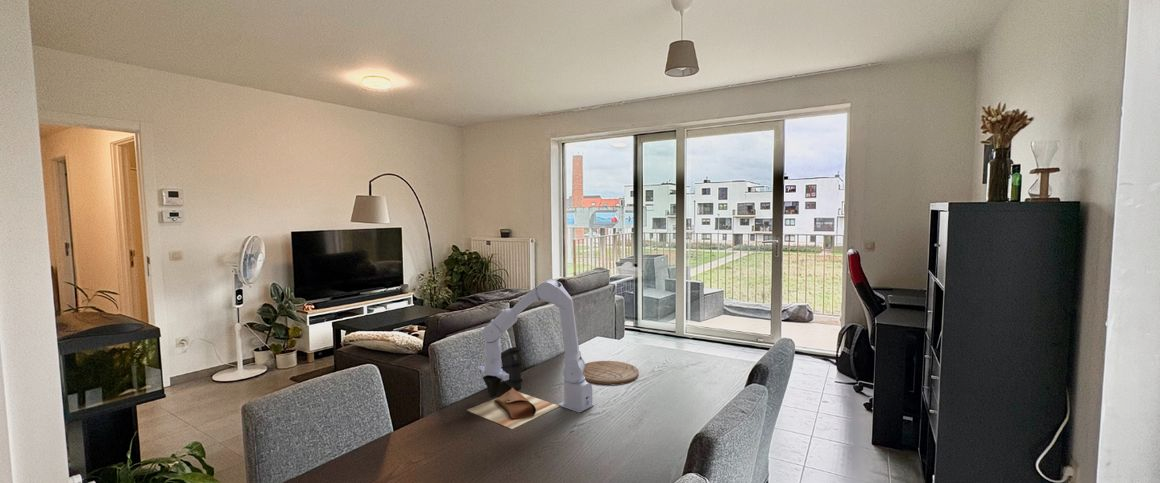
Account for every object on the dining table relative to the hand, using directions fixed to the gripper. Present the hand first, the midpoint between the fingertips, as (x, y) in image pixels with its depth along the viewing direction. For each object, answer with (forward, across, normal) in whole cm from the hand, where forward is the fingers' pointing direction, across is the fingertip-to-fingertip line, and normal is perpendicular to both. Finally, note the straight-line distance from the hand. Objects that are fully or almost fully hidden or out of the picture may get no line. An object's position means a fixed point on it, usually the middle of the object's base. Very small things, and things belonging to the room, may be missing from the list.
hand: (493, 396), depth 166 cm
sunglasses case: (+2, +10, 0) cm, 11 cm away
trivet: (+2, +14, +48) cm, 50 cm away
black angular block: (+2, -8, +15) cm, 17 cm away
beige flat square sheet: (+2, +10, 0) cm, 11 cm away
